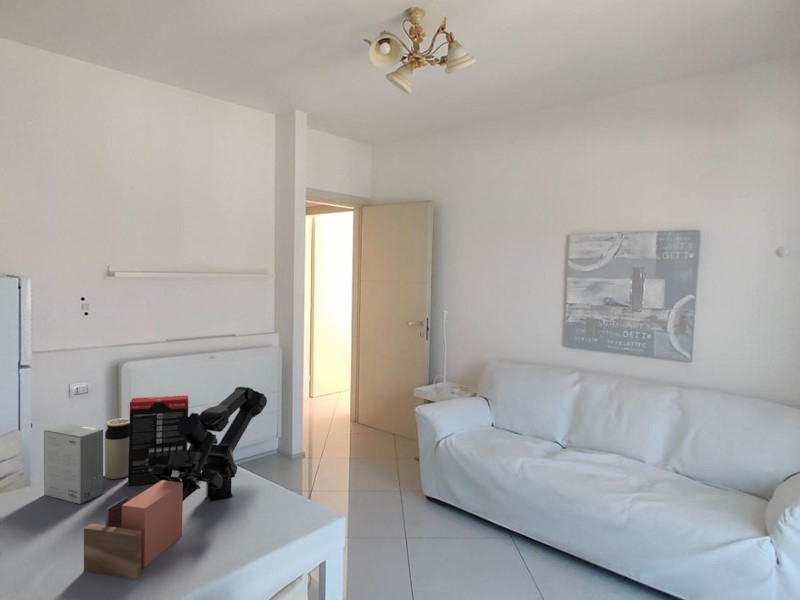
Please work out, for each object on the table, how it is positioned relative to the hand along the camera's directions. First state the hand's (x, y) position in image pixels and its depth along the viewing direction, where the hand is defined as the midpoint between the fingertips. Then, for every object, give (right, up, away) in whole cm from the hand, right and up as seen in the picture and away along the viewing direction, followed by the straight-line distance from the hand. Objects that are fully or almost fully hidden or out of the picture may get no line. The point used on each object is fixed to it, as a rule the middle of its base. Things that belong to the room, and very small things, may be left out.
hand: (172, 508), depth 125 cm
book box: (-1, -7, -7) cm, 10 cm away
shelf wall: (-6, -7, -16) cm, 19 cm away
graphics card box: (-19, -5, +32) cm, 37 cm away
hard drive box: (-39, -5, +19) cm, 44 cm away
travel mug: (-34, -4, +34) cm, 48 cm away
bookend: (-9, -7, -12) cm, 17 cm away
